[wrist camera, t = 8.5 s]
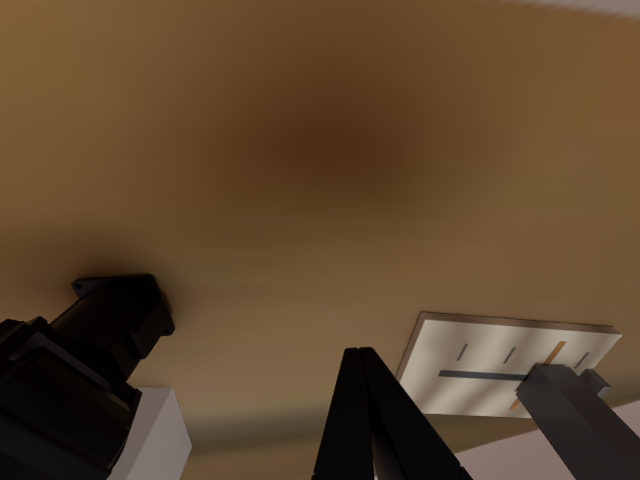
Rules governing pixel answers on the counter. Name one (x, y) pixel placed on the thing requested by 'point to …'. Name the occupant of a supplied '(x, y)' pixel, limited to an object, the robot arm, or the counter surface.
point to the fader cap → (580, 425)
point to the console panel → (494, 361)
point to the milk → (154, 440)
